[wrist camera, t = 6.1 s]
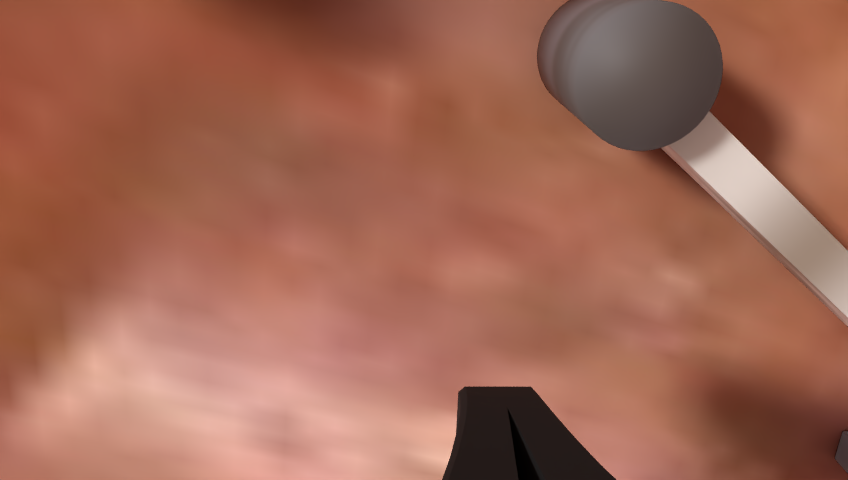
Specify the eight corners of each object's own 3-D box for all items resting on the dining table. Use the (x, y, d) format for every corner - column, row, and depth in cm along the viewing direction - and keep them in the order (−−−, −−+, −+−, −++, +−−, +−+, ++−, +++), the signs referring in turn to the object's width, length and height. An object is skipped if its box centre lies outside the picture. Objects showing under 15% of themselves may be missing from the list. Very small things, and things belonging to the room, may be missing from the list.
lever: (945, 322, 23) (1064, 401, 19) (865, 386, 24) (962, 475, 20) (596, -35, 18) (654, -34, 14) (512, 59, 19) (544, 86, 15)
